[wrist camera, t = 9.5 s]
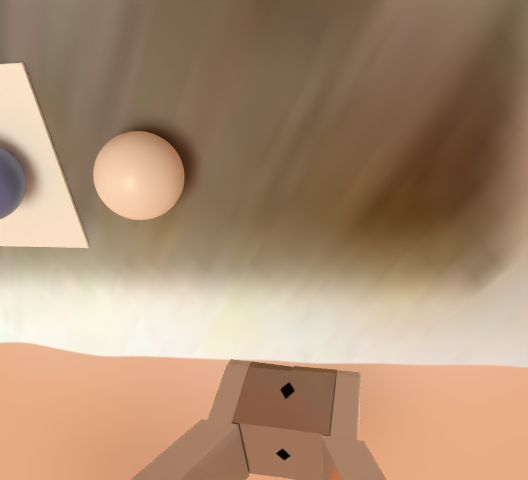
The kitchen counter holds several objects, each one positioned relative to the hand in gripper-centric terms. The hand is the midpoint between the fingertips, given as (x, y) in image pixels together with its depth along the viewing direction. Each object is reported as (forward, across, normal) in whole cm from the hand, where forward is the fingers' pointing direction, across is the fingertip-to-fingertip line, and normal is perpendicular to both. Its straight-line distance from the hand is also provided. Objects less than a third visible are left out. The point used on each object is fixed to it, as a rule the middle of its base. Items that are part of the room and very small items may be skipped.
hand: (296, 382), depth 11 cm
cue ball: (+17, +13, +4) cm, 22 cm away
